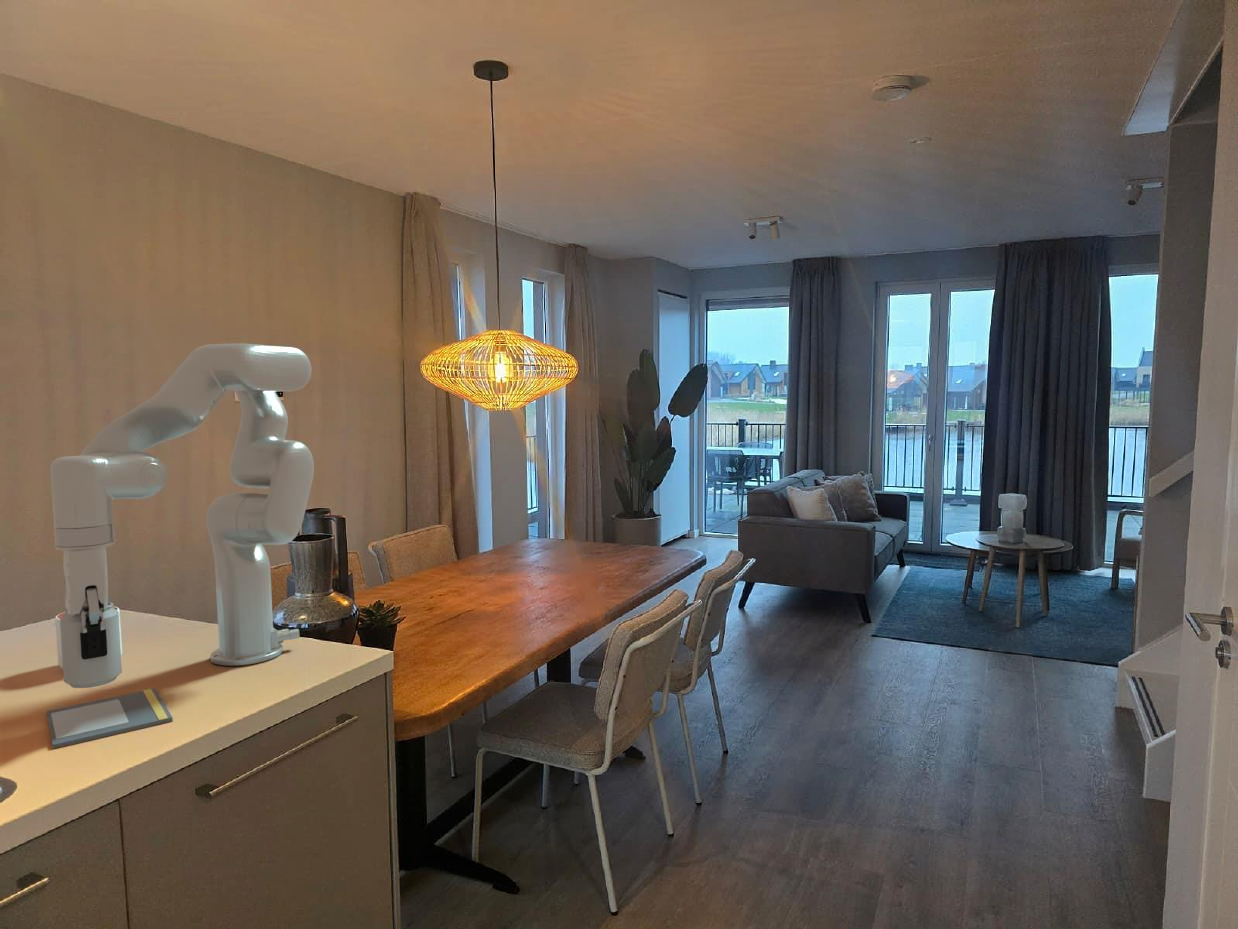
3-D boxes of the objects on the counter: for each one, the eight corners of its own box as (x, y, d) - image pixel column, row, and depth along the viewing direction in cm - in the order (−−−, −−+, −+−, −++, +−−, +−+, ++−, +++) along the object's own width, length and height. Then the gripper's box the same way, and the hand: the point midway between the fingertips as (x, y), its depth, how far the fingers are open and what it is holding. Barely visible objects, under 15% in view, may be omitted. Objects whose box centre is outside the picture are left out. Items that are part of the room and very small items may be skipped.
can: (132, 678, 123) (128, 602, 122) (79, 693, 116) (74, 613, 115) (106, 670, 127) (102, 596, 126) (54, 684, 120) (49, 607, 119)
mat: (155, 691, 134) (155, 687, 134) (172, 721, 122) (172, 716, 121) (46, 714, 125) (46, 710, 125) (53, 748, 112) (52, 744, 112)
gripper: (50, 532, 124) (57, 642, 125) (58, 547, 111) (66, 670, 112) (107, 527, 129) (113, 633, 130) (121, 541, 115) (128, 659, 117)
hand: (91, 650), depth 121 cm, fingers closed on can, 7 cm apart
